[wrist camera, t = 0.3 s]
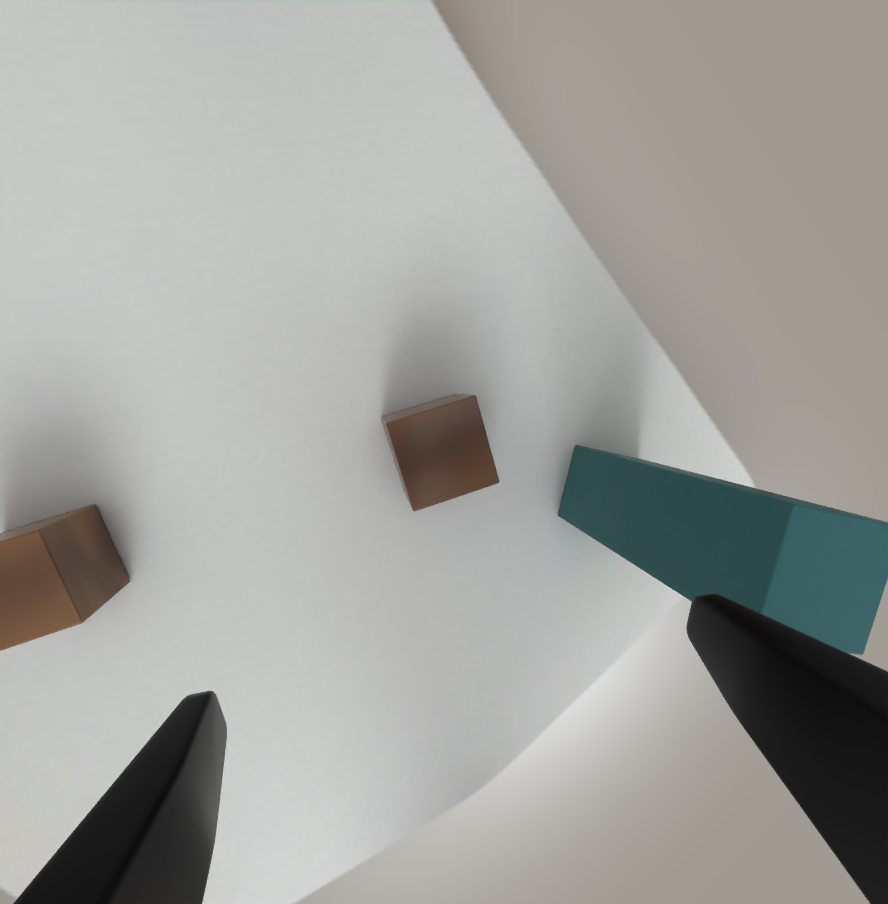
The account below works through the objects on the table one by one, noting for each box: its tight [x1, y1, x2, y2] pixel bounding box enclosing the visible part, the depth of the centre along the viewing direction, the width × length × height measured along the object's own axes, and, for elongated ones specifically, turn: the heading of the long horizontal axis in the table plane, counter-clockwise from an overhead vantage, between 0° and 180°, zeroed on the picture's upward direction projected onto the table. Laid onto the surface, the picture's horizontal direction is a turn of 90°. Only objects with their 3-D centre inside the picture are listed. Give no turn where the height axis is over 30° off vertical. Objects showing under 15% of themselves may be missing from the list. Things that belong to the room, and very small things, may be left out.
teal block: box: [558, 445, 888, 655], centre depth 20 cm, size 4×4×13 cm
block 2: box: [381, 394, 499, 511], centre depth 22 cm, size 4×4×4 cm
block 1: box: [0, 505, 130, 651], centre depth 20 cm, size 4×4×4 cm
